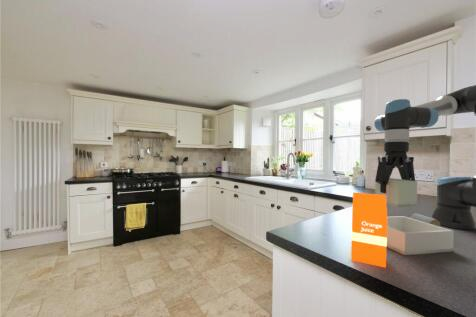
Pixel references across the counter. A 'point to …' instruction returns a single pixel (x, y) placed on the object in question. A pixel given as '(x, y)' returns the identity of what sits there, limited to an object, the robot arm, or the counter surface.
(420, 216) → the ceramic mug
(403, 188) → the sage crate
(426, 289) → the counter surface
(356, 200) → the orange juice
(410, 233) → the grey crate
